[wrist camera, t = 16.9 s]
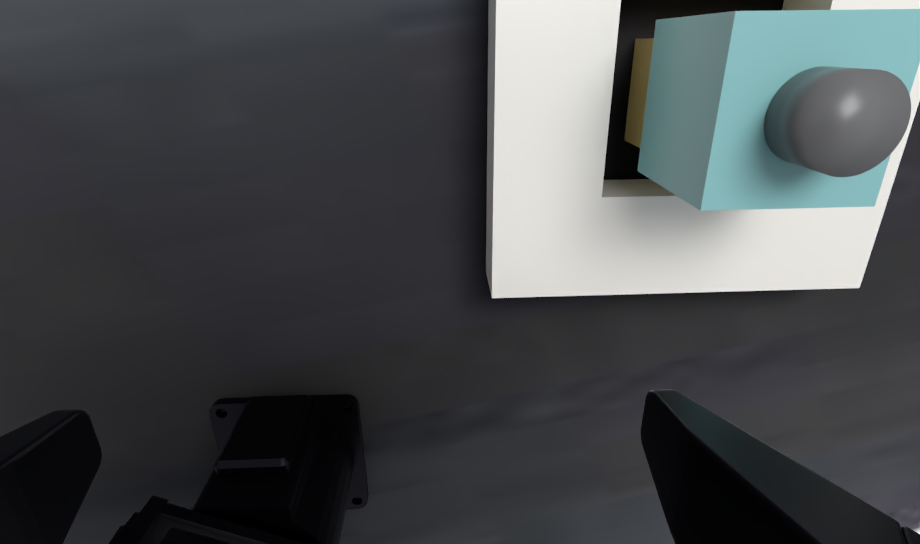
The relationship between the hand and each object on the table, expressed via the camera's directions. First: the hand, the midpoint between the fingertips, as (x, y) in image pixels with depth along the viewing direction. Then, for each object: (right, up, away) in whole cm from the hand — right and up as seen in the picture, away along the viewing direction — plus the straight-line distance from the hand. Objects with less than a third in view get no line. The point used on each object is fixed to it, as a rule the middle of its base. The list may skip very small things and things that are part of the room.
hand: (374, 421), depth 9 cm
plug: (+9, +9, +11) cm, 17 cm away
